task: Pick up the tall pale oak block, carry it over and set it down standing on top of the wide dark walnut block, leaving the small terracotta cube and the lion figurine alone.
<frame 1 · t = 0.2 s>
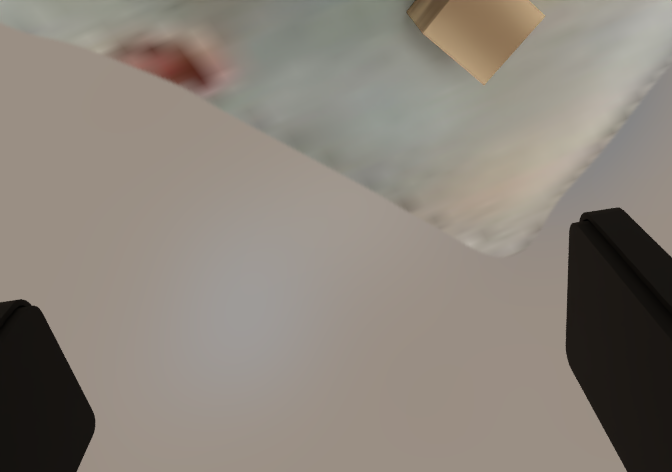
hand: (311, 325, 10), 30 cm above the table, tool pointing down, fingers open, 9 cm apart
oak block: (457, 4, 36), on the table
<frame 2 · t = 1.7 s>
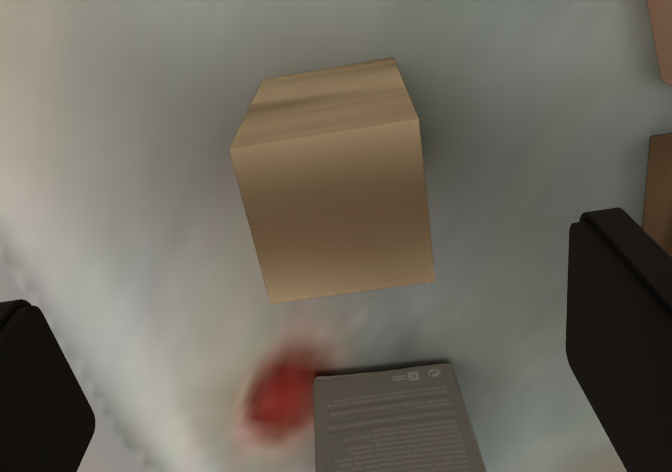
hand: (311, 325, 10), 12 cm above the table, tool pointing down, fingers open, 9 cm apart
oak block: (338, 131, 21), on the table
skincare box: (397, 427, 28), on the table
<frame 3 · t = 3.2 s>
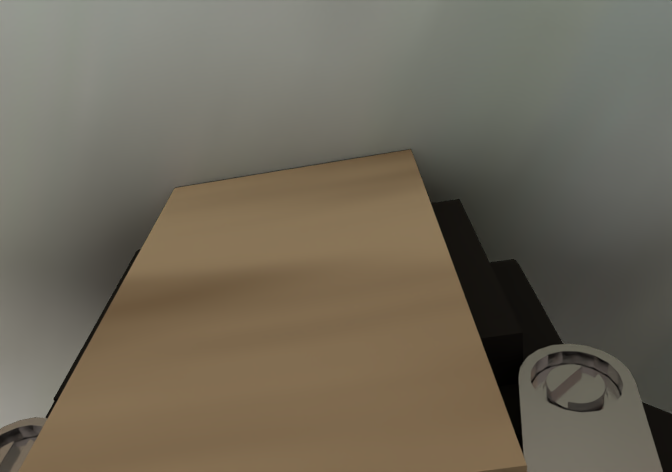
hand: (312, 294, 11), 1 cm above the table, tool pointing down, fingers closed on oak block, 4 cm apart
oak block: (313, 269, 12), on the table, touching gripper
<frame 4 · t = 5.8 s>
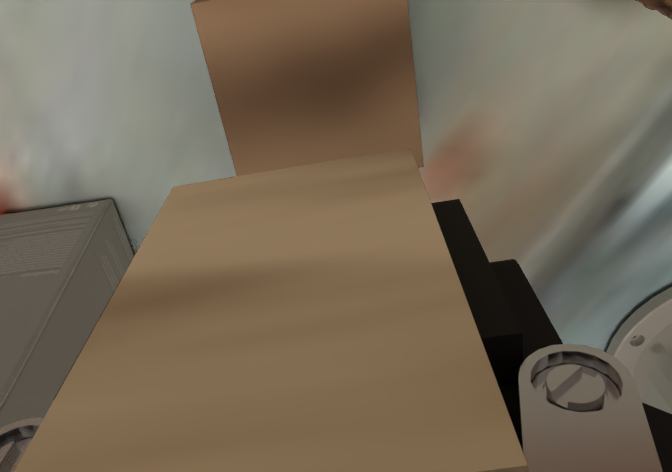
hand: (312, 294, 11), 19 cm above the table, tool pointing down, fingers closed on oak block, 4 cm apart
walnut block: (316, 62, 28), on the table
oak block: (312, 268, 12), point 18 cm above the table, touching gripper
skincare box: (92, 265, 33), on the table
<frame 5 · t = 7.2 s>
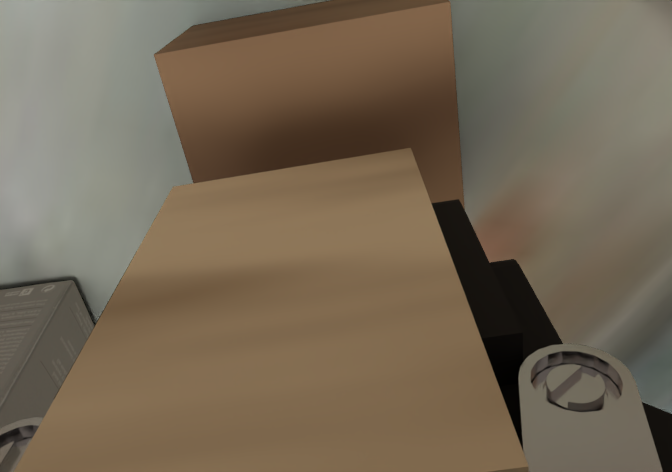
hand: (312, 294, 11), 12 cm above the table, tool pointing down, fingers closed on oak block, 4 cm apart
walnut block: (326, 117, 22), on the table
oak block: (312, 268, 12), point 11 cm above the table, touching gripper
skincare box: (53, 354, 27), on the table
when the fingers open (7 cm above the table, at t = 8.5 s): oak block stays where it is, resting on walnut block.
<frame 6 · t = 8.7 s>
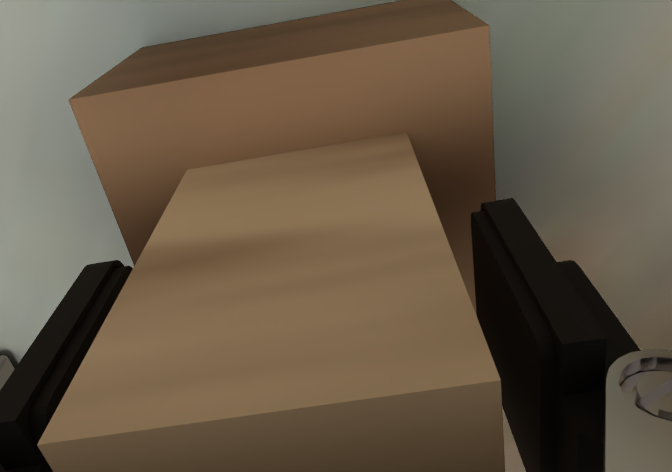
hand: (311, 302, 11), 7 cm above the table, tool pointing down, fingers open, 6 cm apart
walnut block: (316, 162, 17), on the table
oak block: (316, 246, 13), point 5 cm above the table, touching walnut block
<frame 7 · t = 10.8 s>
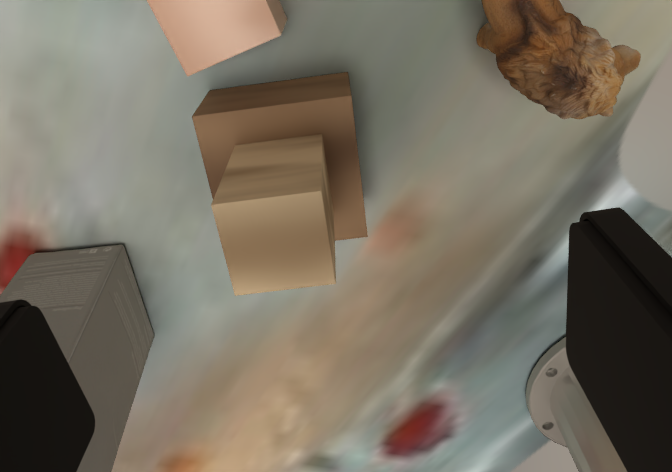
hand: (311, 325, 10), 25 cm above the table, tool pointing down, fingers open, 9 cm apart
walnut block: (289, 147, 35), on the table
oak block: (286, 180, 31), point 5 cm above the table, touching walnut block
skincare box: (104, 295, 40), on the table
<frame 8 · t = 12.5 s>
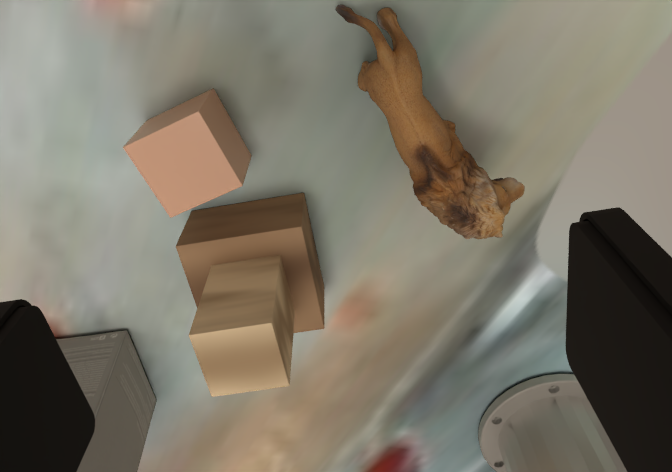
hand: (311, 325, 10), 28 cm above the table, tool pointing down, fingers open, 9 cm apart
walnut block: (260, 250, 42), on the table
oak block: (254, 289, 38), point 5 cm above the table, touching walnut block
lion figurine: (416, 102, 37), on the table
skincare box: (112, 369, 48), on the table
terracotta cube: (200, 138, 38), on the table
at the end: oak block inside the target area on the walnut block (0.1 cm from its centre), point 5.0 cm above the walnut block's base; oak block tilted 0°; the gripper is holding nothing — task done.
